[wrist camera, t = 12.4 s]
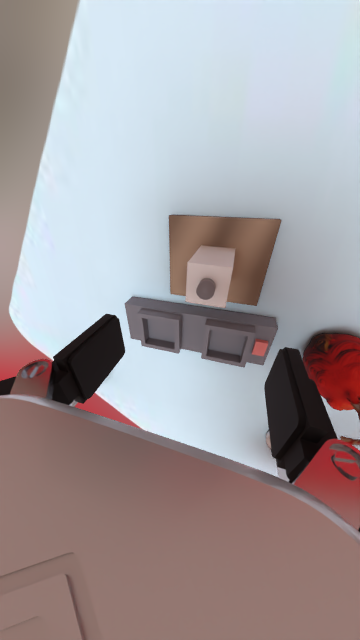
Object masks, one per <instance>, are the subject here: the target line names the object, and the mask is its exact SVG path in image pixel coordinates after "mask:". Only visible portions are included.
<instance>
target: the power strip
mask: <svg viewBox="0 0 360 640" xmlns="http://www.w3.org/2000/svg"><path fill="white" fill-rule="evenodd" d="M125 308H126V313H127V319H128V324H129V330H130V335H131V338H132V339H137V340H141V344H142V346H145V347H150V348H155V349H160V350H164V351H169V352H174V353H179V352H180V349H186V350H191V351H195V352H200V353H202V356H201V358H202V359H207V360H212V361H217V362H221V363H226V364H231V365H236V366H240V367H245V364H246V362H249V363H254V364H259V365H264V362H265V360H266V357H267V355H268V352H269V350H270V347H271V345H272V342H273V340H274V337H275V335H276V332H277V330H278V326H277V323H276V319H275V318H273V317H266V316H259V315H252V314H246V313H239V312H232V311H226V310H219V309H212V308H205V307H199V306H192V305H185V304H178V303H172V302H165V301H158V300H152V299H145V298H138V297H132V298H130V299H129V300H128V301H127V302H126V303H125Z"/></svg>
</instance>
